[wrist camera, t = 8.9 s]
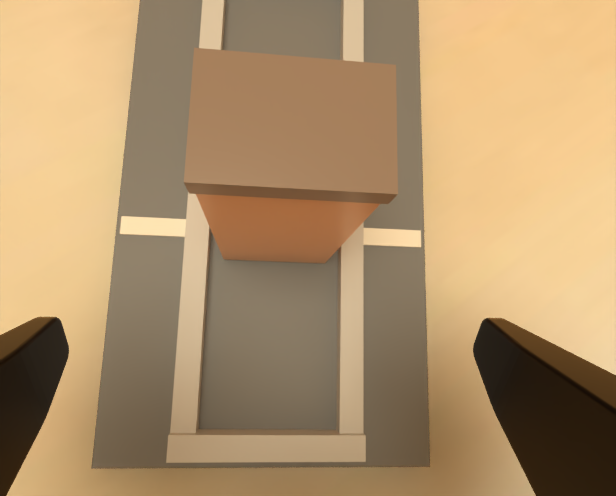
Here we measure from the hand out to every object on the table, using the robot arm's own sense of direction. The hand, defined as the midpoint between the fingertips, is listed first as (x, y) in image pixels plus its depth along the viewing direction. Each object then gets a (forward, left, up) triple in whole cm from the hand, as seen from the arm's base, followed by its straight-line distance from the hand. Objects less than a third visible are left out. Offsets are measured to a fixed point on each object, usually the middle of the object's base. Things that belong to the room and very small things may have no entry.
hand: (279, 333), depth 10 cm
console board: (+6, -3, -12) cm, 13 cm away
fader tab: (+4, -2, -10) cm, 11 cm away
